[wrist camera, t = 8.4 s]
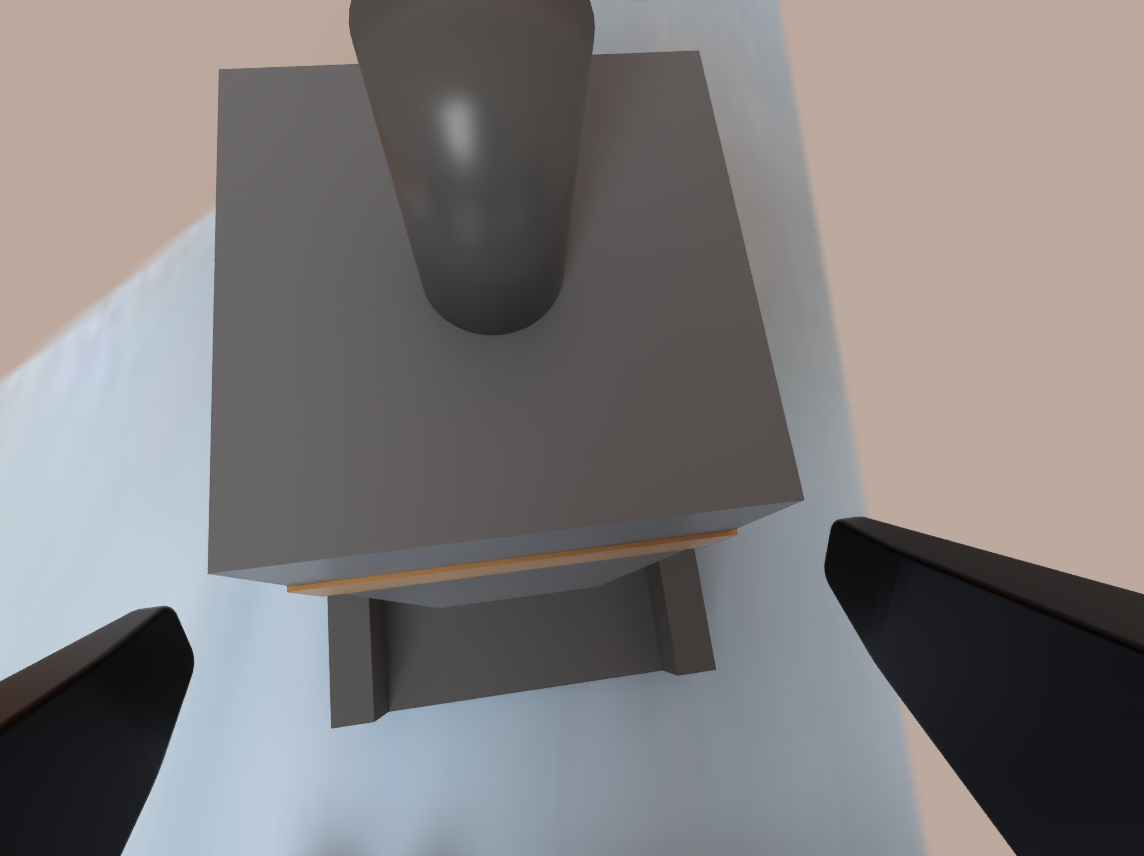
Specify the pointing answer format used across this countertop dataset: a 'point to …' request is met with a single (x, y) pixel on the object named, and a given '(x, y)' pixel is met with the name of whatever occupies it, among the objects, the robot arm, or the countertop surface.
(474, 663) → the dark grey square tray
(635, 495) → the connector
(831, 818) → the countertop surface
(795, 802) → the countertop surface
